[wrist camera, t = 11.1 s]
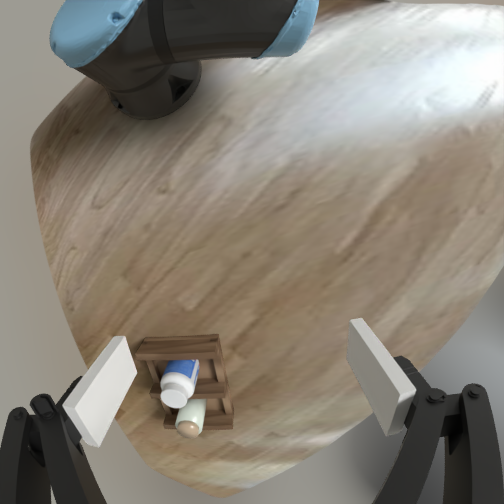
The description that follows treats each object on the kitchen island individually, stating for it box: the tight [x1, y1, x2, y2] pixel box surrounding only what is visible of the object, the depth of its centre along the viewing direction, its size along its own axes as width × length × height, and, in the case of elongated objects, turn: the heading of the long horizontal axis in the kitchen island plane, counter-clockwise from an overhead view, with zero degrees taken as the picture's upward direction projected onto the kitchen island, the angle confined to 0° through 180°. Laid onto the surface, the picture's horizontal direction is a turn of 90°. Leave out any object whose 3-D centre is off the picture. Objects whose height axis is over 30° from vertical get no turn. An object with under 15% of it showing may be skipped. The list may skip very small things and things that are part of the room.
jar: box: [175, 399, 207, 438], centre depth 42 cm, size 5×5×9 cm
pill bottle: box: [160, 359, 200, 408], centre depth 40 cm, size 6×5×10 cm
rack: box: [135, 334, 234, 430], centre depth 44 cm, size 18×13×6 cm
